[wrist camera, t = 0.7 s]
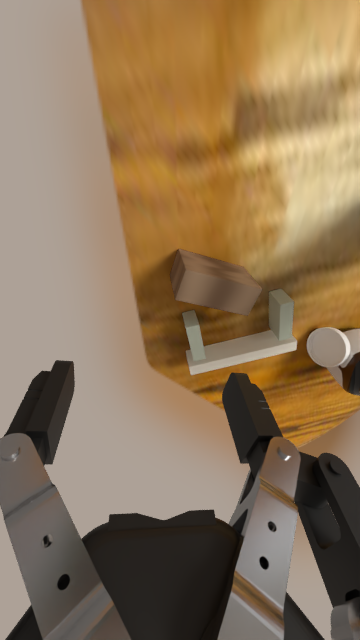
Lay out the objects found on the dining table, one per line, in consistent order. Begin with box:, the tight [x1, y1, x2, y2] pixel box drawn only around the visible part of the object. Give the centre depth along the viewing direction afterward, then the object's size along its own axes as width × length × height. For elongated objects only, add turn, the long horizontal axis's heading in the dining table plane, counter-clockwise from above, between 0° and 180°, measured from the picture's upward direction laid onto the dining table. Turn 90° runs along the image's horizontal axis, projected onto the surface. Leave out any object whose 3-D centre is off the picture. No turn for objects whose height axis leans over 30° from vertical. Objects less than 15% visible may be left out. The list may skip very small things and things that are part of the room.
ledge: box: [182, 288, 297, 375], centre depth 41 cm, size 18×10×4 cm, turn 102°
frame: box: [170, 249, 262, 316], centre depth 33 cm, size 10×4×7 cm, turn 72°
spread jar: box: [307, 327, 360, 396], centre depth 43 cm, size 12×11×12 cm
